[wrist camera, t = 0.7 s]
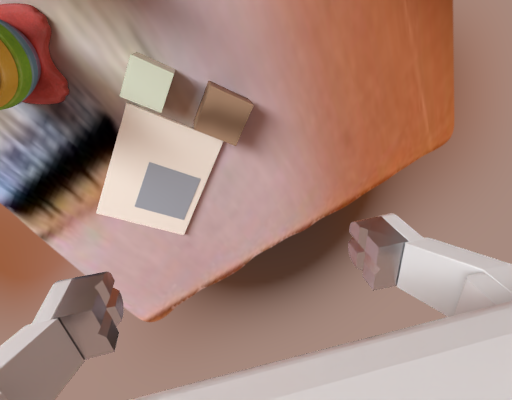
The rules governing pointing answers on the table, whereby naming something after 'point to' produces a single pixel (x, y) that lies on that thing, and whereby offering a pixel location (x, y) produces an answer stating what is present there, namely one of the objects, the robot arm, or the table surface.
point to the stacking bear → (27, 59)
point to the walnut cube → (222, 114)
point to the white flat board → (157, 171)
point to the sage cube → (146, 82)
